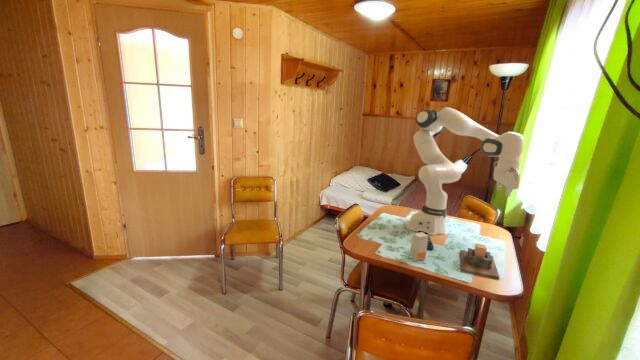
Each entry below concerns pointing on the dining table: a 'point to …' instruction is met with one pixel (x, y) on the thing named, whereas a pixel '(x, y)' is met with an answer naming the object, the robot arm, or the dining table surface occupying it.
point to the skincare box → (419, 246)
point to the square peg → (480, 250)
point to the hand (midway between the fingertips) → (503, 193)
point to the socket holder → (478, 264)
